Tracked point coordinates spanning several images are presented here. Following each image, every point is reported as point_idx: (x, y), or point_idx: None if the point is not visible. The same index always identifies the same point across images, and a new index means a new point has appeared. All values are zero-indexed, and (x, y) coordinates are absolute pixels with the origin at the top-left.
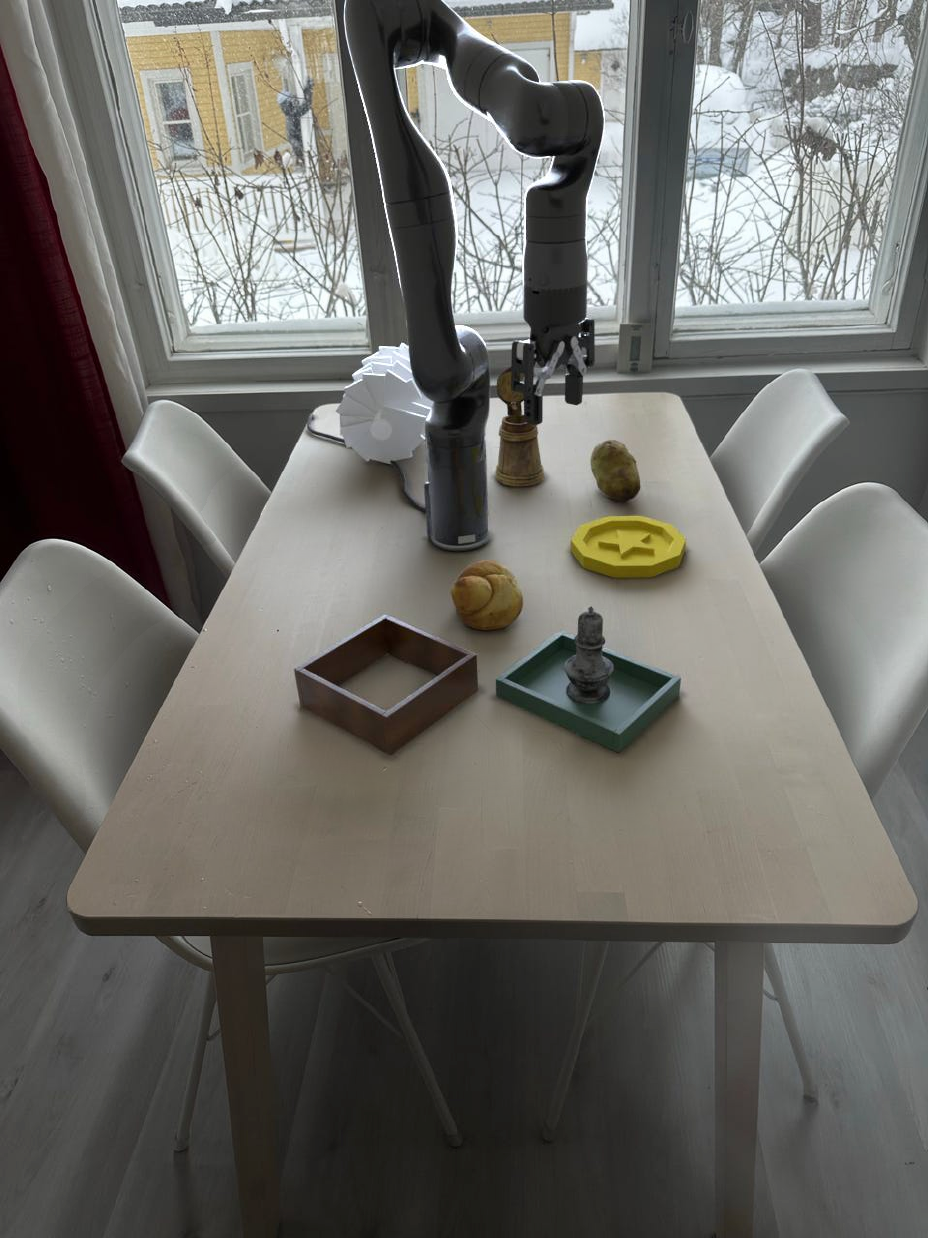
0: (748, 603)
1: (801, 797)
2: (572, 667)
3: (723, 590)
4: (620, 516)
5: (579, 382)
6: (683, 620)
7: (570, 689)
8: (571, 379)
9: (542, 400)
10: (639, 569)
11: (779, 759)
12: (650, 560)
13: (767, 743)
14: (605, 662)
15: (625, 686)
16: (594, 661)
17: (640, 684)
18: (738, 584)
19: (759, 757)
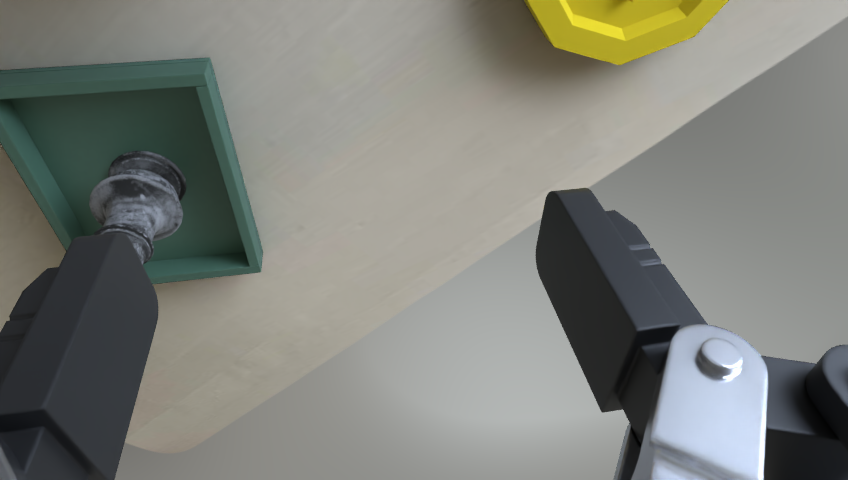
0: (535, 197)
1: (221, 384)
2: (102, 202)
3: (557, 154)
4: None
5: (587, 379)
6: (436, 159)
7: (116, 170)
8: (607, 345)
9: (124, 440)
10: (539, 23)
11: (253, 355)
12: (573, 32)
13: (266, 340)
14: (161, 229)
15: (208, 208)
16: None
17: (230, 219)
18: (586, 160)
19: (239, 345)
